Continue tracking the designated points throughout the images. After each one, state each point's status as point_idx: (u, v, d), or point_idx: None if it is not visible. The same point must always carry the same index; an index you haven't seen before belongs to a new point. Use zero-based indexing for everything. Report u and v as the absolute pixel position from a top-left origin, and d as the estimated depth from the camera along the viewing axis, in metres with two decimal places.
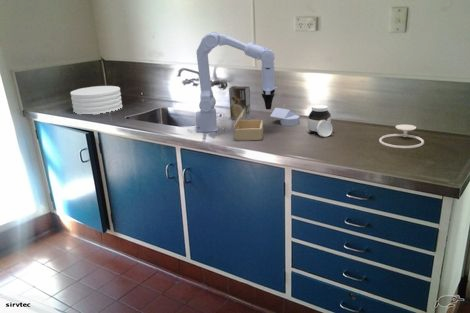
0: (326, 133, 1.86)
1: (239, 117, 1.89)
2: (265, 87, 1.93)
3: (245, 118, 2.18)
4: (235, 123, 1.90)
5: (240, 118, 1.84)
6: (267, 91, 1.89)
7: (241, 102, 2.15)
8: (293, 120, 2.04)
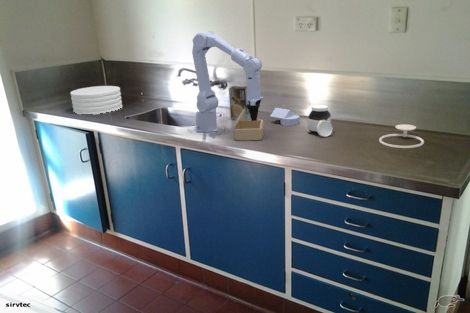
0: (326, 133, 1.86)
1: (239, 117, 1.89)
2: (250, 97, 1.85)
3: (245, 118, 2.18)
4: (235, 123, 1.90)
5: (240, 118, 1.84)
6: (252, 102, 1.81)
7: (241, 102, 2.15)
8: (293, 120, 2.04)
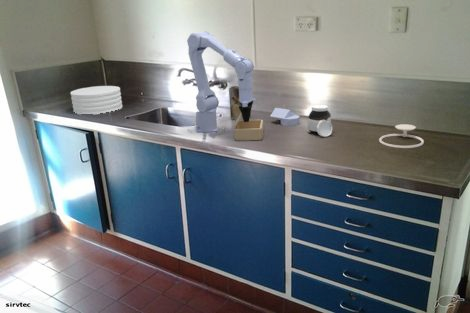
0: (326, 133, 1.86)
1: (239, 117, 1.89)
2: (242, 99, 1.86)
3: None
4: (235, 123, 1.90)
5: (240, 118, 1.84)
6: (244, 103, 1.81)
7: None
8: (293, 120, 2.04)
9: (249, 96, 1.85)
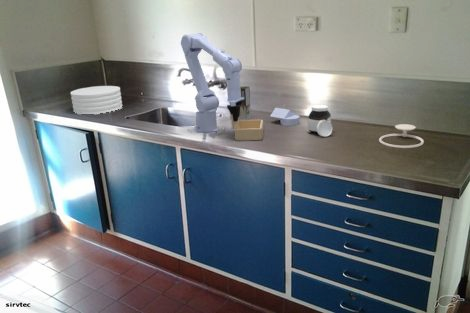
0: (326, 133, 1.86)
1: None
2: (231, 98, 1.86)
3: (245, 118, 2.18)
4: (233, 123, 1.90)
5: (231, 116, 1.84)
6: (232, 102, 1.81)
7: None
8: (293, 120, 2.04)
9: (237, 95, 1.85)
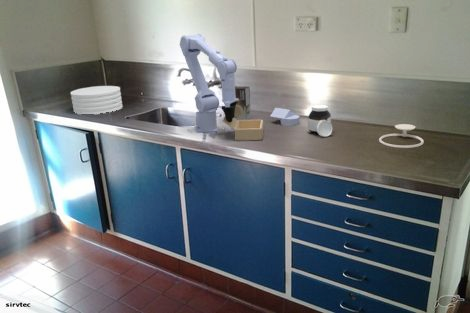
0: (326, 133, 1.86)
1: None
2: (225, 99, 1.86)
3: (245, 118, 2.18)
4: None
5: (224, 121, 1.85)
6: (226, 104, 1.82)
7: (241, 102, 2.15)
8: (293, 120, 2.04)
9: (232, 96, 1.86)
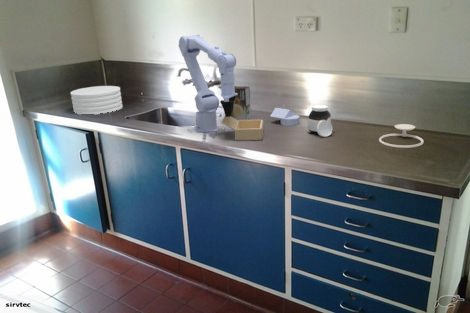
0: (326, 133, 1.86)
1: None
2: (224, 94, 1.86)
3: (245, 118, 2.18)
4: None
5: (223, 123, 1.85)
6: (225, 98, 1.81)
7: (241, 102, 2.15)
8: (293, 120, 2.04)
9: (231, 91, 1.85)
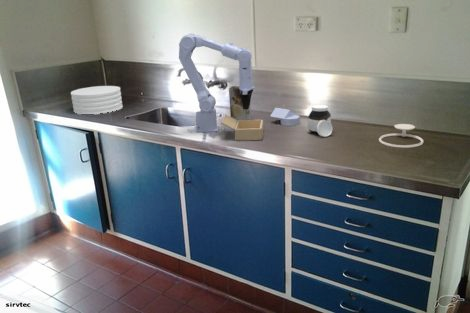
0: (326, 133, 1.86)
1: None
2: (242, 87, 1.94)
3: (245, 118, 2.18)
4: None
5: (222, 123, 1.85)
6: (244, 91, 1.90)
7: (241, 102, 2.15)
8: (293, 120, 2.04)
9: (249, 84, 1.94)
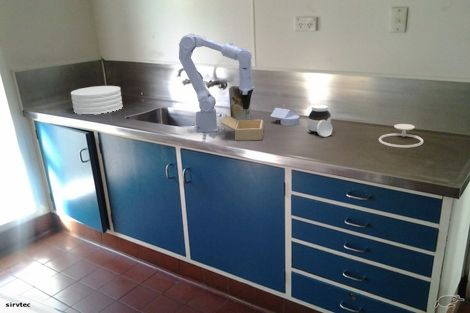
0: (326, 133, 1.86)
1: None
2: (242, 87, 1.94)
3: (245, 118, 2.18)
4: None
5: (222, 123, 1.85)
6: (244, 91, 1.90)
7: (241, 102, 2.15)
8: (293, 120, 2.04)
9: (249, 84, 1.94)
